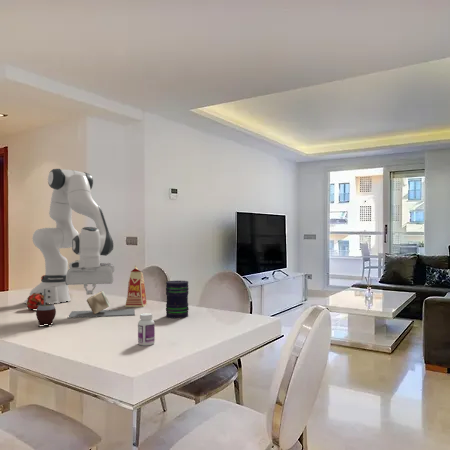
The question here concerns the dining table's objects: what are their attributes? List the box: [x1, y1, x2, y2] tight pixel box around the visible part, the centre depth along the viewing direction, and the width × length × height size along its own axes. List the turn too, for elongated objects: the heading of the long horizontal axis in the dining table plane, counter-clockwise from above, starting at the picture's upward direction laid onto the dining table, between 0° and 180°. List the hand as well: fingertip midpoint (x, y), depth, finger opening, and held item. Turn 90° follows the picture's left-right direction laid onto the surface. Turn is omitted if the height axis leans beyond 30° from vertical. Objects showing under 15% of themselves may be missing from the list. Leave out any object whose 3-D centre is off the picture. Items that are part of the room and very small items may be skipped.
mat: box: [68, 308, 136, 318], centre depth 189 cm, size 28×14×1 cm, turn 103°
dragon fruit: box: [26, 293, 48, 310], centre depth 199 cm, size 8×8×12 cm
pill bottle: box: [137, 312, 156, 347], centre depth 138 cm, size 5×5×10 cm
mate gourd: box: [35, 289, 57, 326], centre depth 165 cm, size 8×8×15 cm
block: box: [86, 290, 111, 314], centre depth 189 cm, size 7×7×7 cm
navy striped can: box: [165, 280, 190, 319], centre depth 184 cm, size 10×10×15 cm
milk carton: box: [124, 265, 148, 308], centre depth 211 cm, size 9×9×20 cm
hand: (89, 294), depth 188 cm, fingers closed
